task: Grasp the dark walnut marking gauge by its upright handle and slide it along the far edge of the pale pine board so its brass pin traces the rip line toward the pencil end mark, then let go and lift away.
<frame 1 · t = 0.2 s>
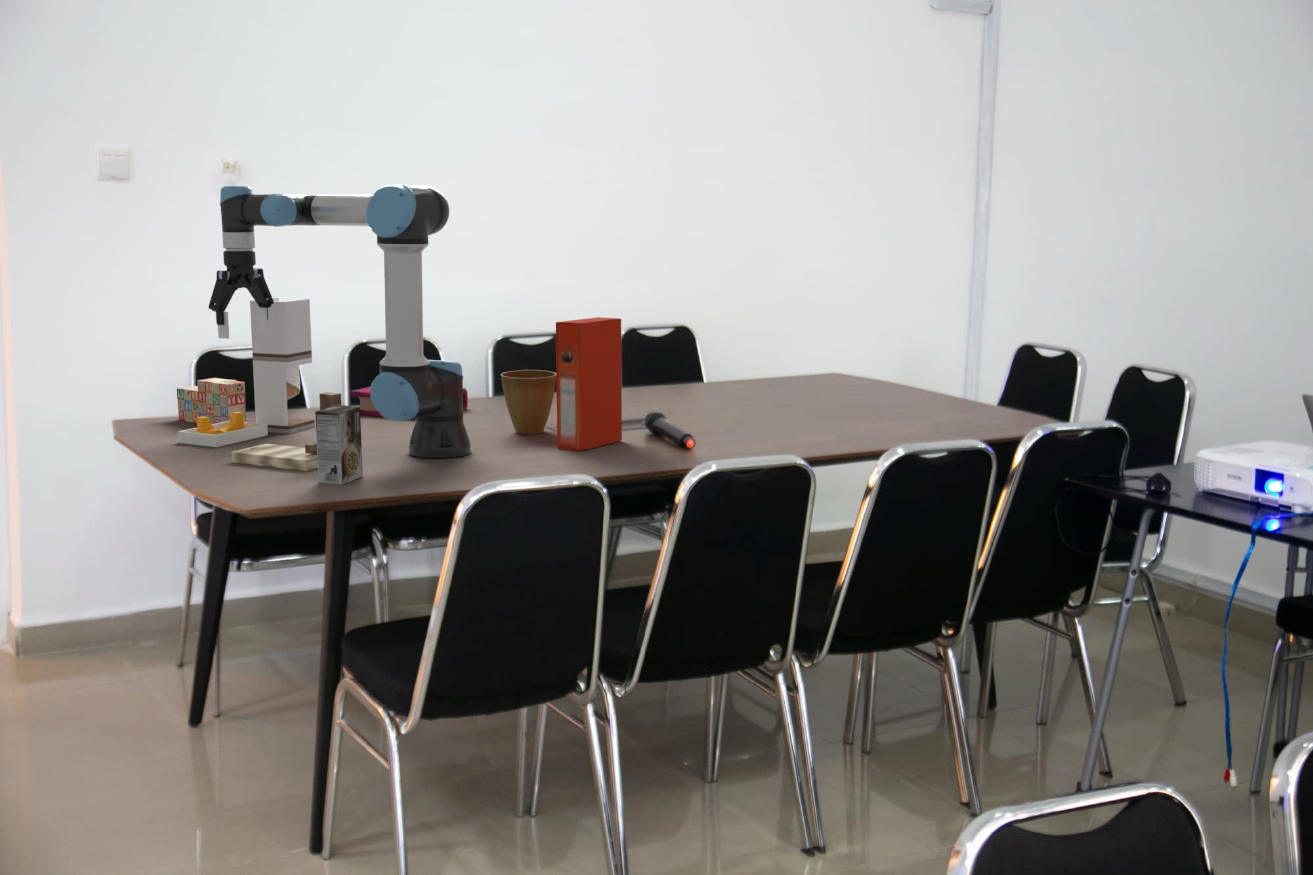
hand: (243, 336, 318), 28 cm above the table, fingers open, 13 cm apart
marking gauge: (321, 427, 301), point 8 cm above the table, slide at 0.0 cm
white column with cutout: (285, 429, 346), on the table
book: (409, 413, 377), on the table
plant pot: (529, 433, 345), on the table
file binder: (589, 445, 328), on the table
stack of blocks: (212, 423, 356), on the table
pipe clamp: (223, 440, 331), resting in clamp rest frame
pine board: (285, 462, 303), on the table
clamp rest frame: (224, 439, 331), on the table
printed food box: (340, 480, 284), on the table
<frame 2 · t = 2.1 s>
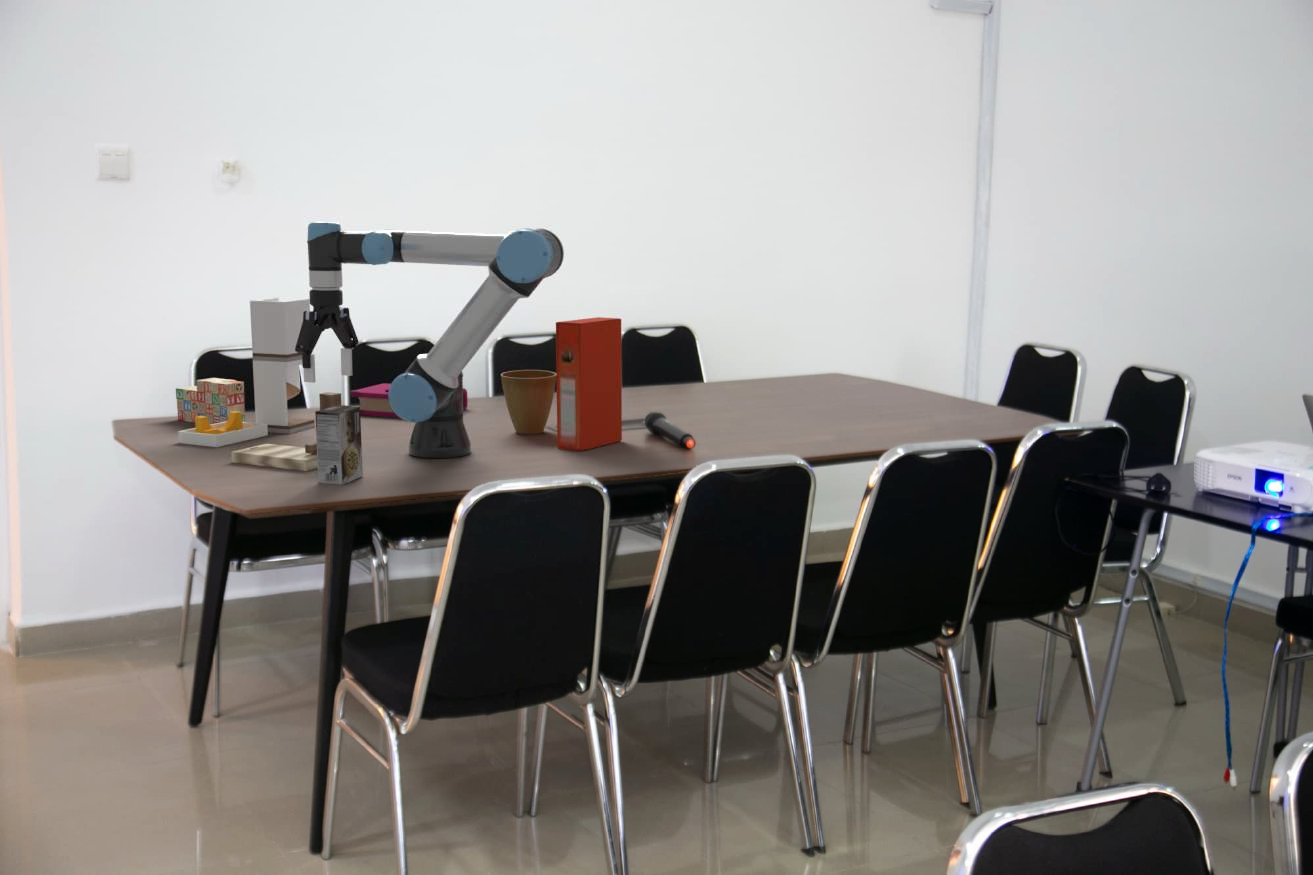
hand: (328, 378, 303), 20 cm above the table, fingers open, 13 cm apart
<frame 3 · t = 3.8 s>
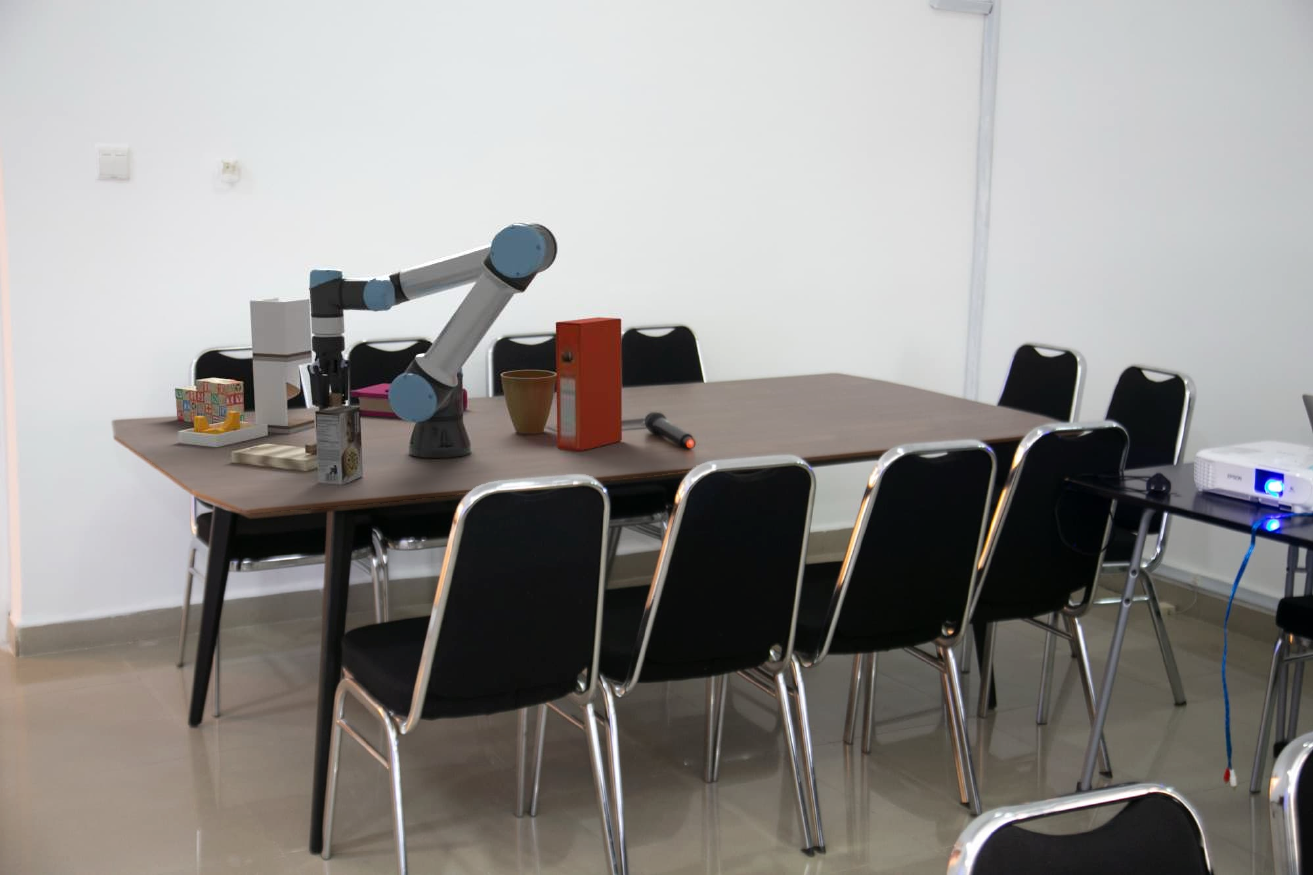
hand: (331, 432, 305), 7 cm above the table, fingers closed on marking gauge, 3 cm apart
marking gauge: (321, 427, 301), point 8 cm above the table, slide at 0.0 cm, touching gripper
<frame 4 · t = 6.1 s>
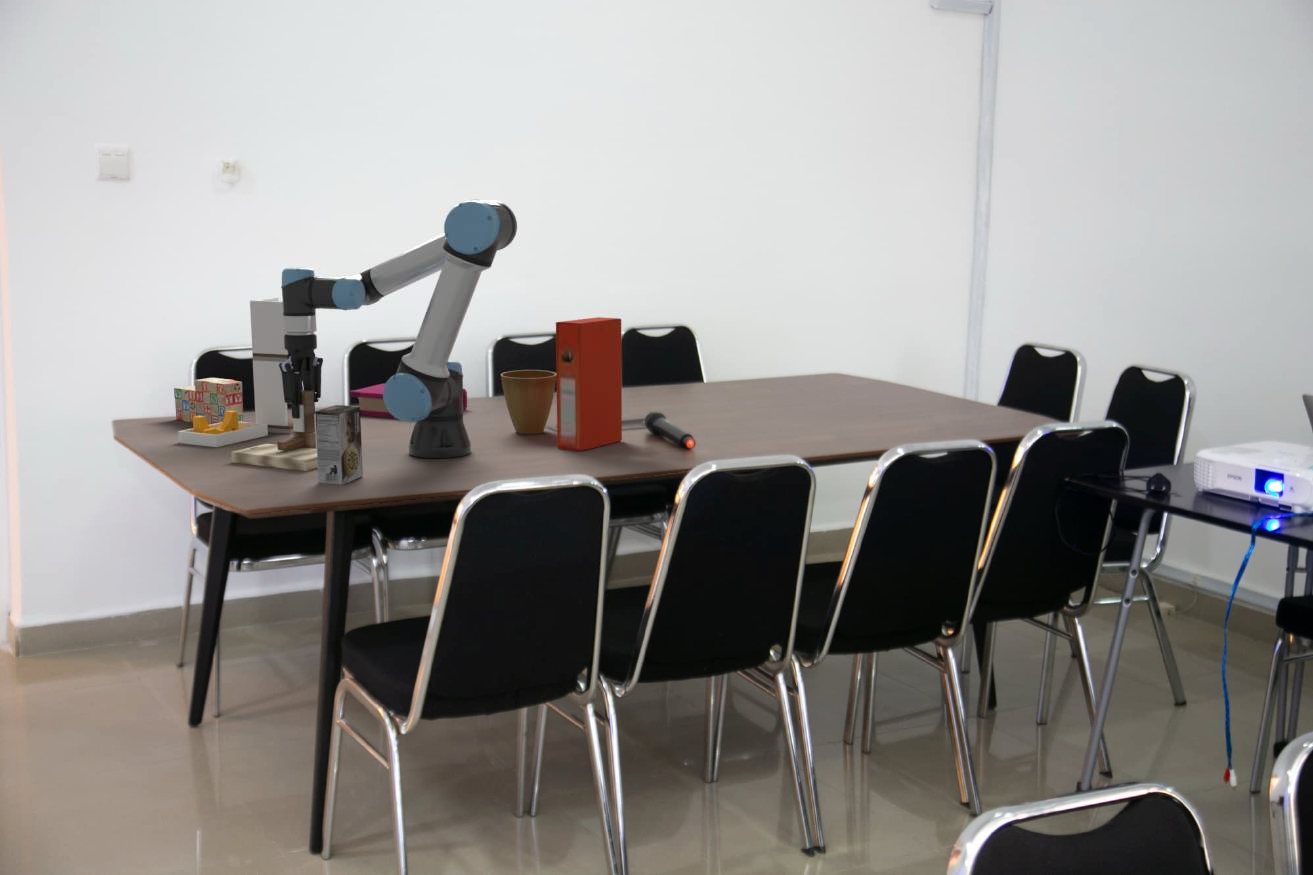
hand: (304, 429, 308), 7 cm above the table, fingers closed on marking gauge, 3 cm apart
marking gauge: (294, 425, 305), point 8 cm above the table, slide at 8.3 cm, touching gripper
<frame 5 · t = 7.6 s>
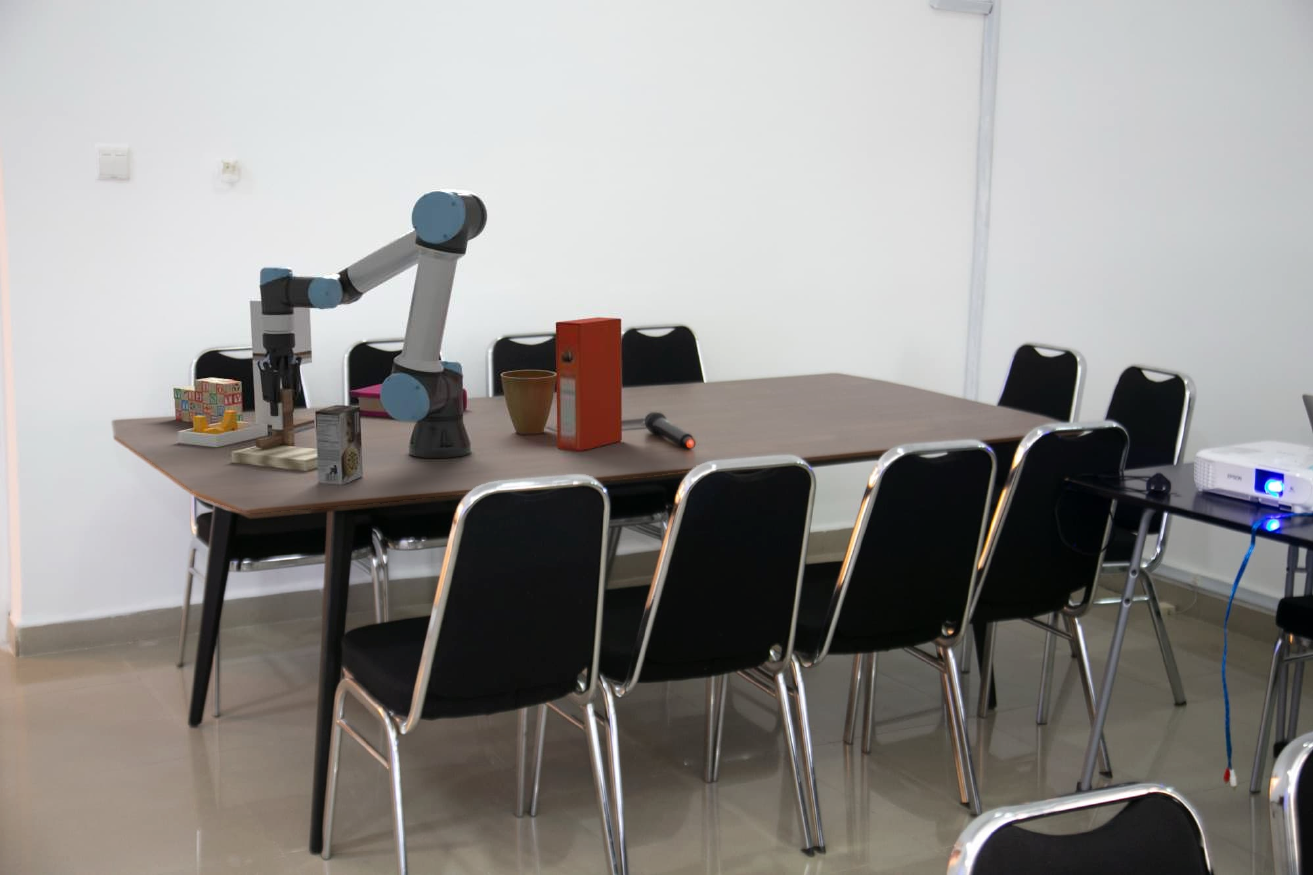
hand: (282, 427, 311), 7 cm above the table, fingers closed on marking gauge, 3 cm apart
marking gauge: (272, 423, 307), point 8 cm above the table, slide at 14.8 cm, touching gripper
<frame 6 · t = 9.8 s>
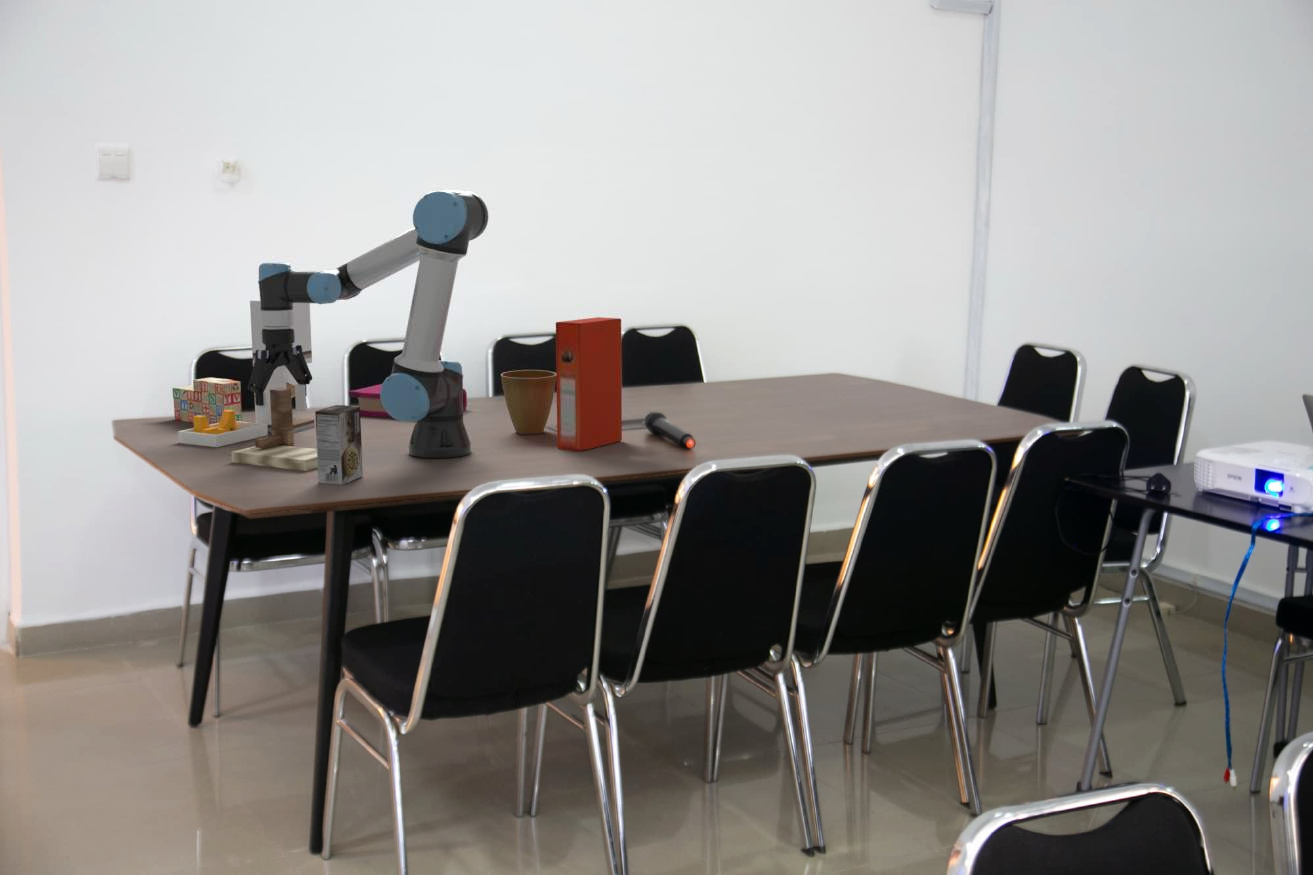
hand: (282, 414, 310), 10 cm above the table, fingers open, 13 cm apart
marking gauge: (272, 423, 308), point 8 cm above the table, slide at 15.0 cm
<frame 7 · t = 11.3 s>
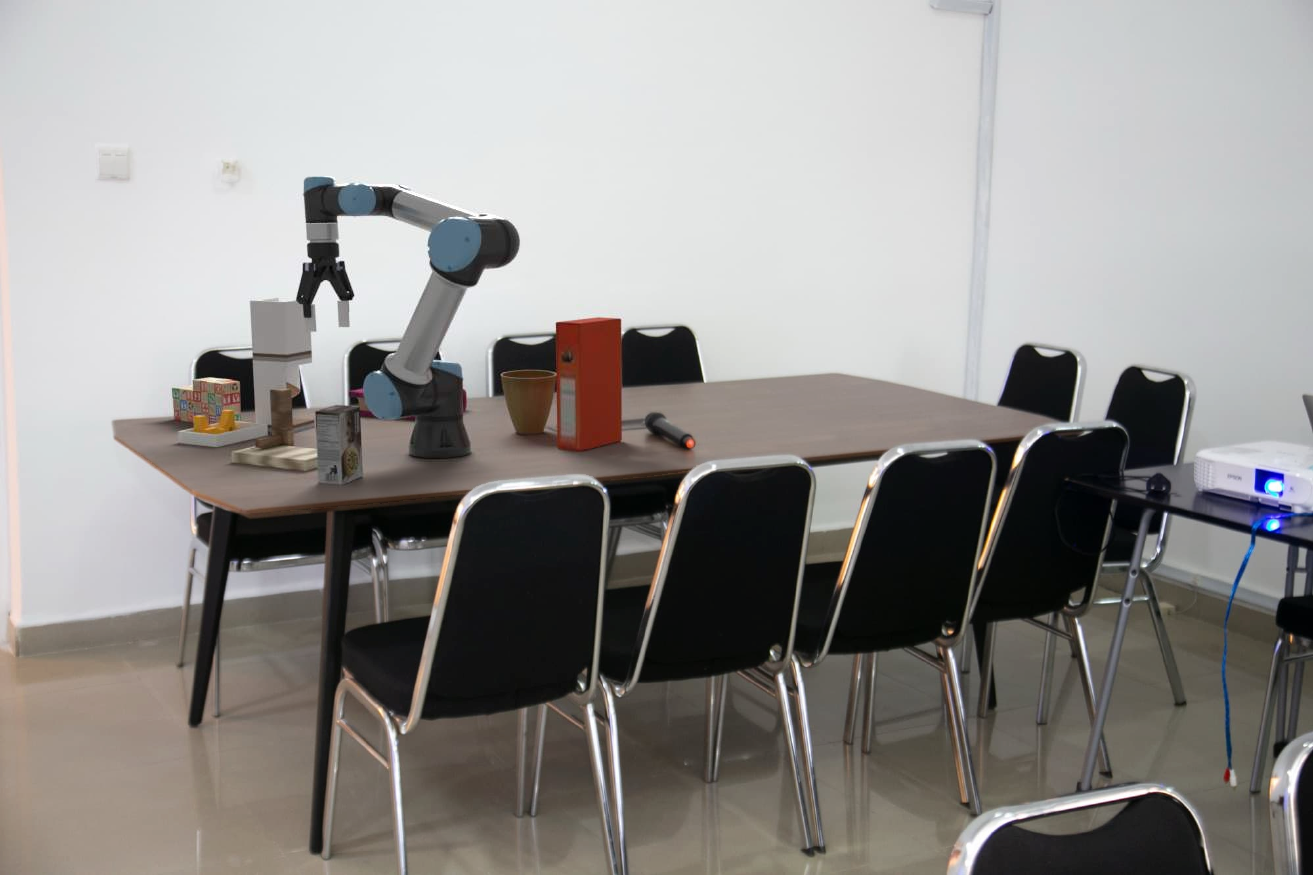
hand: (327, 329, 313), 30 cm above the table, fingers open, 13 cm apart
pipe clamp: (218, 438, 334), resting in clamp rest frame
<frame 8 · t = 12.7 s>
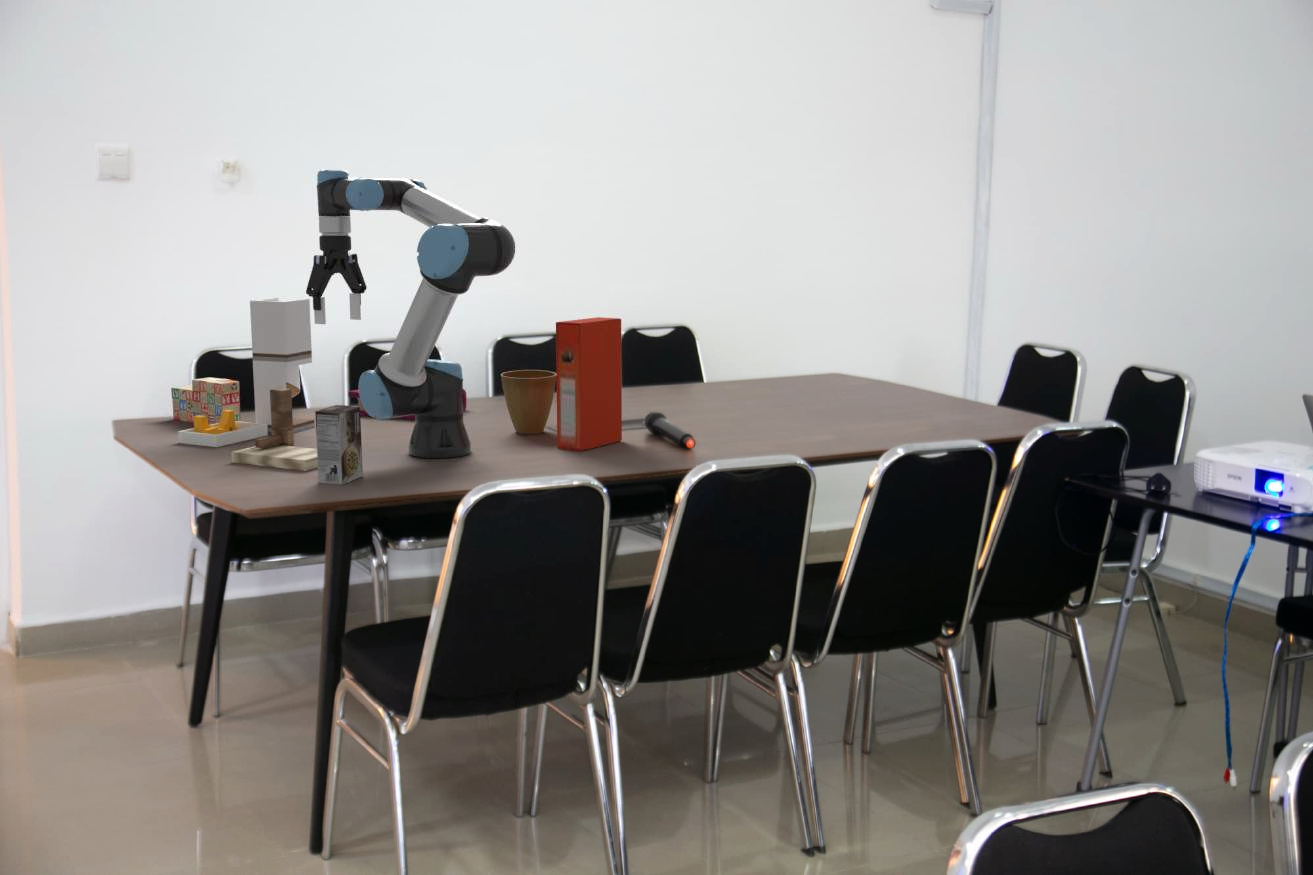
hand: (338, 321, 315), 32 cm above the table, fingers open, 13 cm apart
pipe clamp: (218, 438, 334), resting in clamp rest frame
at the end: marking gauge slide at 15.0 cm; the gripper is holding nothing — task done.
